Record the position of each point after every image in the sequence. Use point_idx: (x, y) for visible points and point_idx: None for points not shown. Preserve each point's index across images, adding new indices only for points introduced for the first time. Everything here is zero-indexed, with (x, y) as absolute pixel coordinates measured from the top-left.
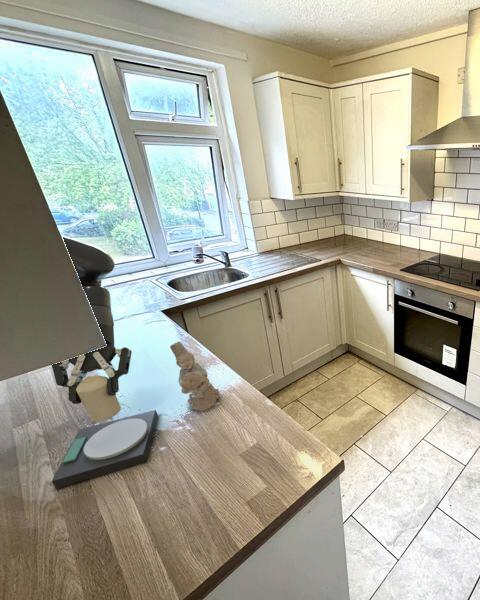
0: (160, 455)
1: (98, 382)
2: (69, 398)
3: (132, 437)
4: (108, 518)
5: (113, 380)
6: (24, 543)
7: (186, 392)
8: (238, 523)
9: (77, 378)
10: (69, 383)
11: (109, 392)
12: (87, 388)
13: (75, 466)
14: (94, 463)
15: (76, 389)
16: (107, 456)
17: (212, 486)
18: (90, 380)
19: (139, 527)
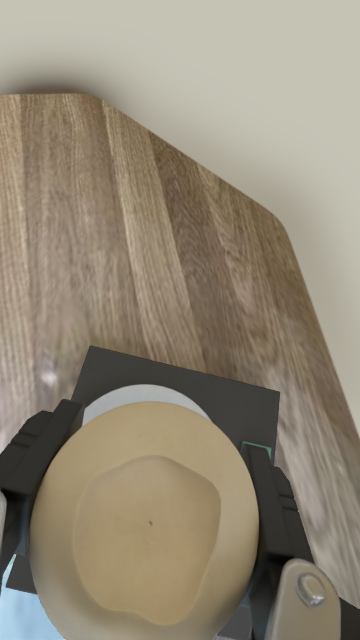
0: (61, 353)
1: (97, 452)
2: (286, 486)
3: None
4: (170, 250)
5: (2, 477)
6: (286, 288)
7: None
8: (3, 119)
9: (265, 637)
10: (319, 583)
11: (71, 405)
12: (175, 420)
13: (238, 413)
14: (197, 392)
15: (253, 495)
16: (167, 388)
17: (3, 198)
18: (157, 557)
19: (128, 202)
